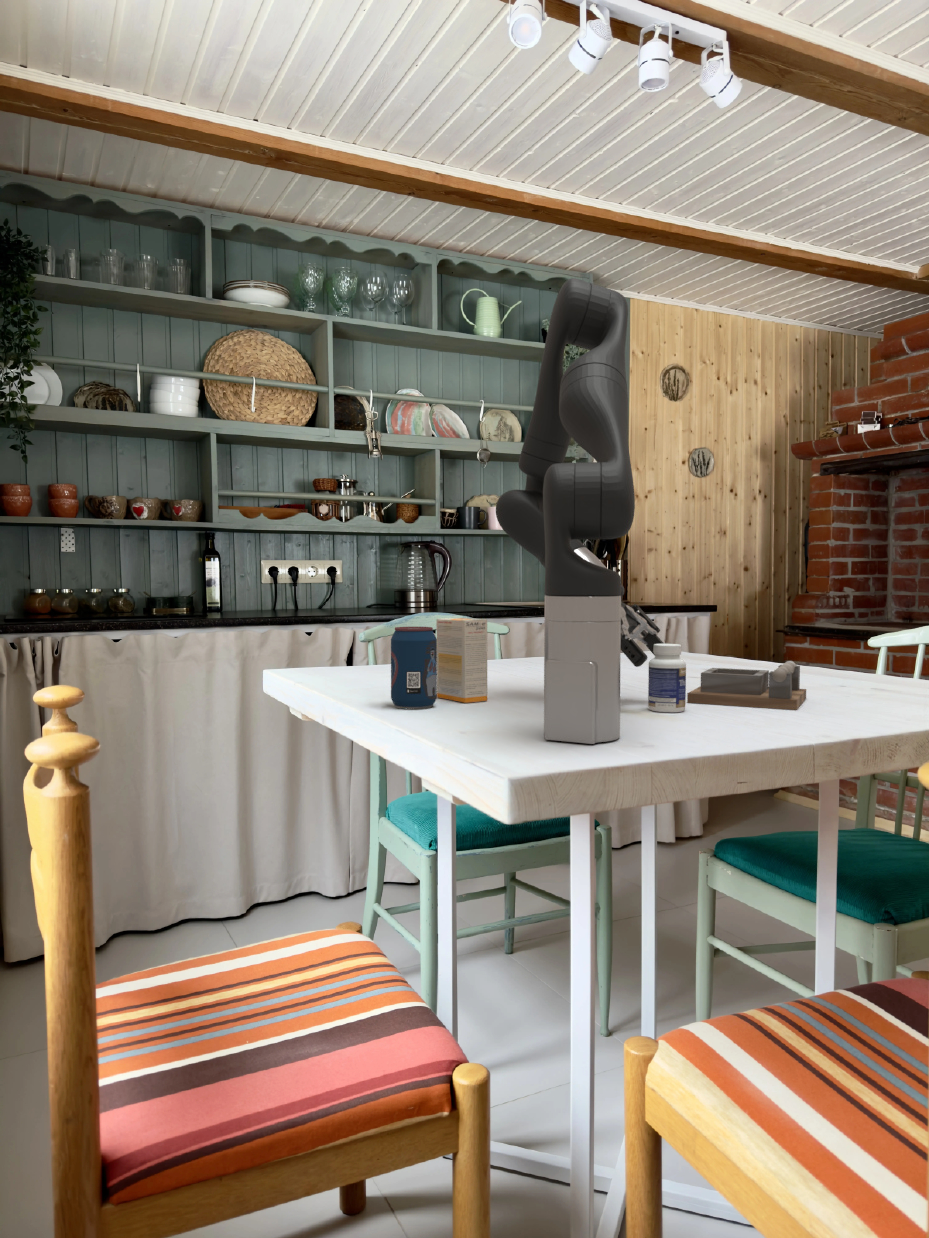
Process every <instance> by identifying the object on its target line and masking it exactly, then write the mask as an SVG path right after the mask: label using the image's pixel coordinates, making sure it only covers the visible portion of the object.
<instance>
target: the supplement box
mask: <svg viewBox="0 0 929 1238" xmlns="http://www.w3.org/2000/svg"><path fill="white" fill-rule="evenodd" d="M435 621H436V625H435V626H436V639H437V698H438V699H446V700H450V701H455V702H459V703H464V704H469V703H471V704H472V703H479V702H487V701H488V619H486V618H471V617H446V618H445V617H442V618H437V619H435ZM437 698H436V699H437Z"/></svg>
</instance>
